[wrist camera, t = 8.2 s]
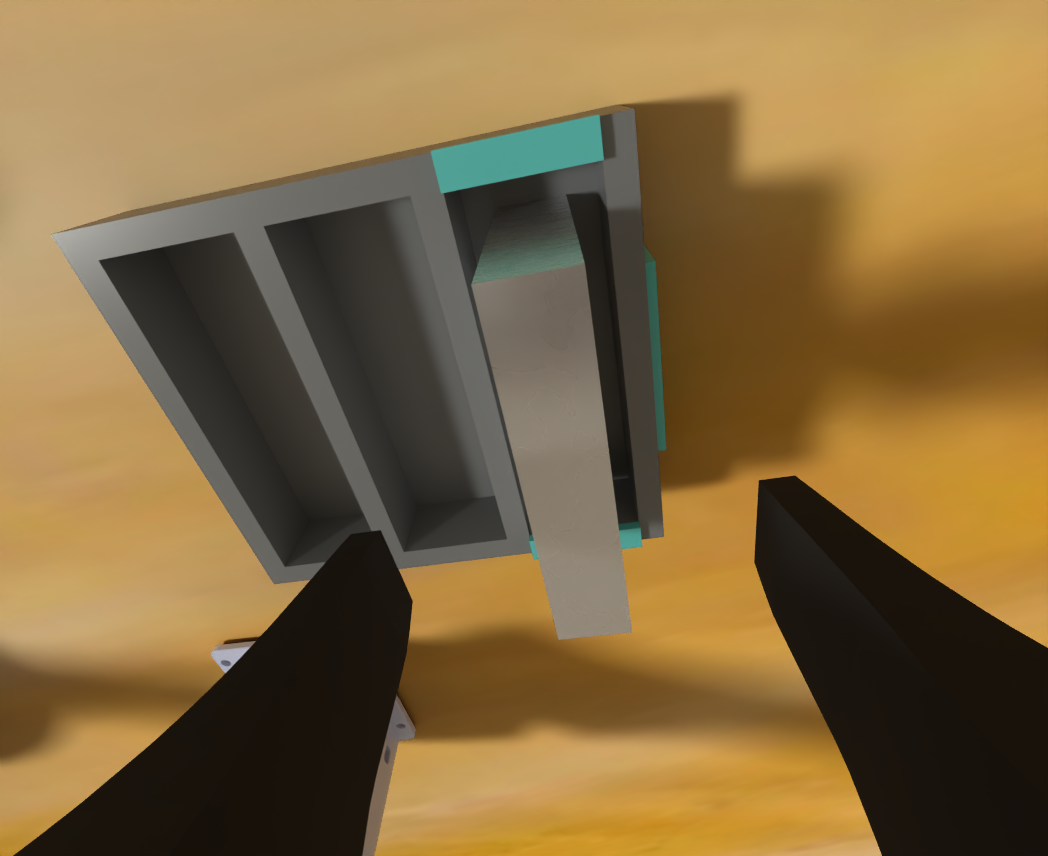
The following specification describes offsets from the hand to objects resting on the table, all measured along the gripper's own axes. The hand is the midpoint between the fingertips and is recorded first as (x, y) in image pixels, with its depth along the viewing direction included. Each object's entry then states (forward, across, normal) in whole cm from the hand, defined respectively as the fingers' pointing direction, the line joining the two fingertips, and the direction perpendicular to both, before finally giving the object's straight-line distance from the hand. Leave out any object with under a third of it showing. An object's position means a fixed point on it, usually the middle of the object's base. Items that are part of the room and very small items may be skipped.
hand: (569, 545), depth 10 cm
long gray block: (+9, 0, 0) cm, 9 cm away
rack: (+9, +5, 0) cm, 10 cm away
